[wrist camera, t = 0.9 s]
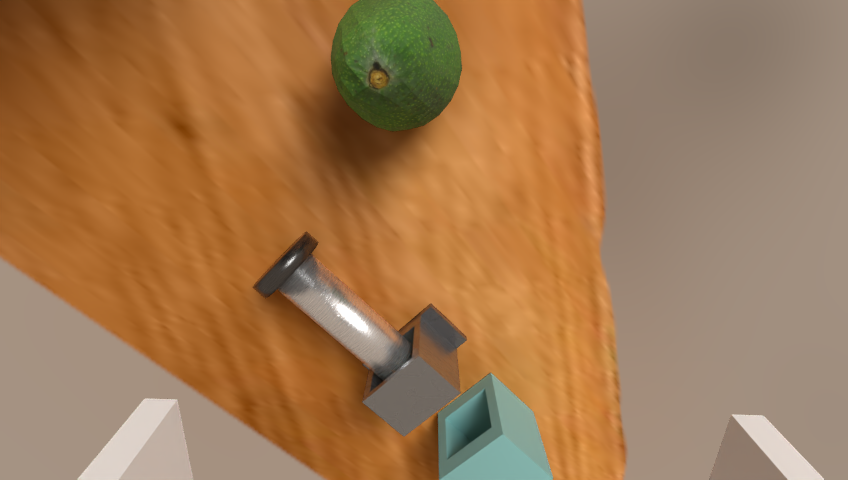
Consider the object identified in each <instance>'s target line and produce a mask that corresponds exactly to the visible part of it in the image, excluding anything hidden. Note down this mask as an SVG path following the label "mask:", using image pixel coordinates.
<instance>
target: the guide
mask: <svg viewBox="0 0 848 480" xmlns="http://www.w3.org/2000/svg"><path fill="white" fill-rule="evenodd" d="M398 332H399V333H400V334H401V335H402V336H403V337H404V338H406V339H407V340H408V341H409V342H410V343H411V344H412V345H413V354H412V358H411V359H410V360H409V361H407V362H406V363H405V364H404V365H402V366H401V367H400V368H399V369H398V370H396V371H395V372H394V373H393V374H392V375H390V376H389V377H388V378H387V379H385V380H382V379H381V378H380V377H379V376H378V375H377V374H375V373H374V372H373V371H372V370H371V369H369V368H368V367H367V366H366V365H365V364H364V363H363V366H365V367H366V368H367V369H368V370H369V373H368V378H367V382H366V387H365V392H364V396H363V401H362V402H363V403H364V404H365V405H366V406H367V407H369V408H370V409H371V410H372V411H373V412H375V413H376V414H377V415H378V416H380V417H381V418H382V419H383V420H384V421H386V422H387V423H388V424H389V425H390V426H392V427H393V428H394V429H395V430H396V431H398V432H399V433H400V434H401V435H403V436H406V435H407V434H408V433H409V432H411V431H412V430H413V429H415V428H416V427H417V426H419V425H420V424H421V423H422V422H424V421H425V420H426V419H428V418H429V417H430V416H431V415H433V414H434V413H435V412H437V411H438V410H439V409H441V408H442V407H443V406H444V405H446V404H447V403H448V402H450V401H451V400H452V399H454V398H455V397H456V396H457V395H459V394H460V393H461V392H460V381H459V370H458V359H457V348H458V347H459V346H460V345H461V344H463V343H464V342H465V341H466V340H467V338H466V336H465V335H464V334H463V333H462V332H461V331H460V330H459V329H458V328H457V327H456V326H454V325H453V324H452V323H451V322H450V321H449V320H448V319H447V318H446V317H445V316H444V315H443V314H442V313H441V312H440V311H439V310H437V309H436V308H435V307H434V306H433V305H432V304H430V305H428V306H427V307H426V308H425V309H424V310H423V311H421V312H420V313H419V314H418V315H417V316H415V317H414V318H413V319H412V320H411V321H410V322H408V323H407V324H406V325H405V326H404V327H403V328H401V329H400V330H399V331H398Z"/></svg>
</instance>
